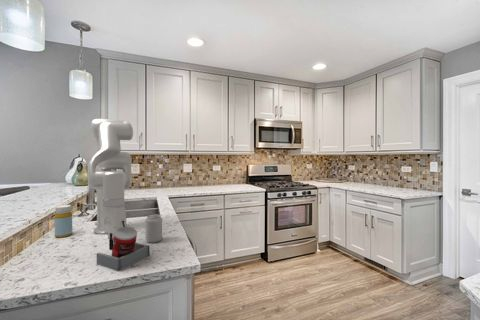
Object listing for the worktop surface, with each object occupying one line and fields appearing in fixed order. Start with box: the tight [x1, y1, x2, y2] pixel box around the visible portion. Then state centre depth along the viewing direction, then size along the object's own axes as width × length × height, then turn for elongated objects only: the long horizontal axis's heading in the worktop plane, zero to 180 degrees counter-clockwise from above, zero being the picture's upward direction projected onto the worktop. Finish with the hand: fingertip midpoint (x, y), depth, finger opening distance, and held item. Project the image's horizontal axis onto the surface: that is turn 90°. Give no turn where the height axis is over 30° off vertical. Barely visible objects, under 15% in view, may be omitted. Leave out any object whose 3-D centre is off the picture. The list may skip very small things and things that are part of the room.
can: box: [144, 213, 163, 244], centre depth 110 cm, size 8×8×12 cm
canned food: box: [111, 226, 138, 258], centre depth 88 cm, size 8×8×11 cm
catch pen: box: [96, 242, 151, 272], centre depth 90 cm, size 12×14×4 cm
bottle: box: [54, 204, 73, 239], centre depth 116 cm, size 7×7×15 cm
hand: (114, 248), depth 91 cm, fingers closed
